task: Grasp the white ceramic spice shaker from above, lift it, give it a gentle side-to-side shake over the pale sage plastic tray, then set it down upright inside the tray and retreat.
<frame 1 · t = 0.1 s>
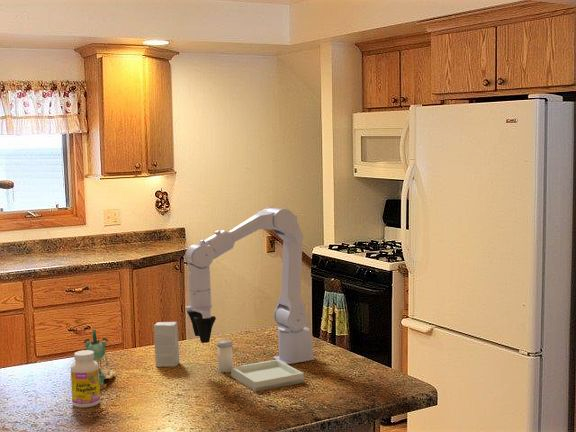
hand: (202, 339, 212), 10 cm above the counter, fingers open, 7 cm apart
frog figurine: (96, 381, 212), on the counter
tray: (266, 379, 208), on the counter
supplement bottle: (86, 404, 193), on the counter
spice shaker: (225, 370, 217), on the counter
skincare box: (167, 365, 224), on the counter
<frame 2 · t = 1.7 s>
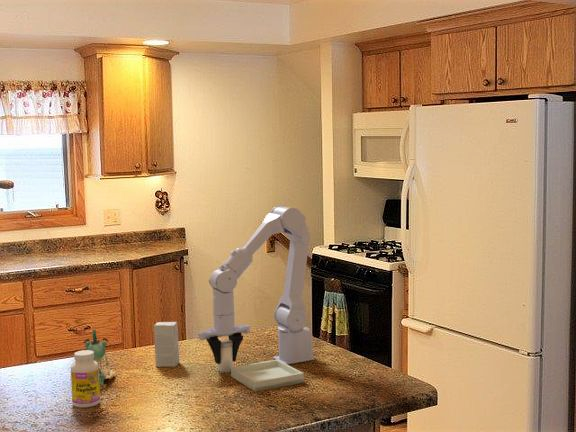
hand: (225, 361, 217), 2 cm above the counter, fingers closed on spice shaker, 4 cm apart
spice shaker: (225, 370, 217), on the counter, touching gripper
everything else where it was.
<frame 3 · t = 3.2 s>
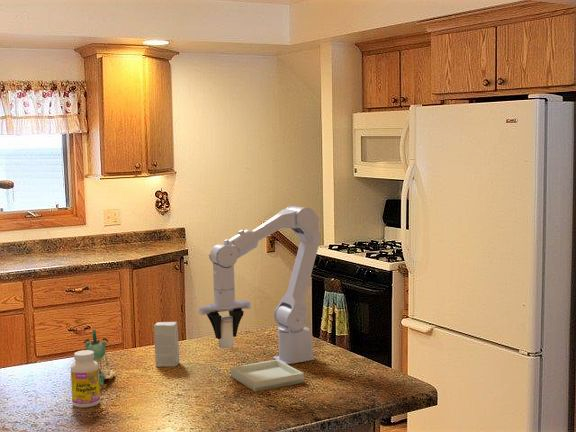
hand: (226, 337, 216), 9 cm above the counter, fingers closed on spice shaker, 4 cm apart
spice shaker: (226, 345, 216), point 7 cm above the counter, touching gripper
everything else where it was.
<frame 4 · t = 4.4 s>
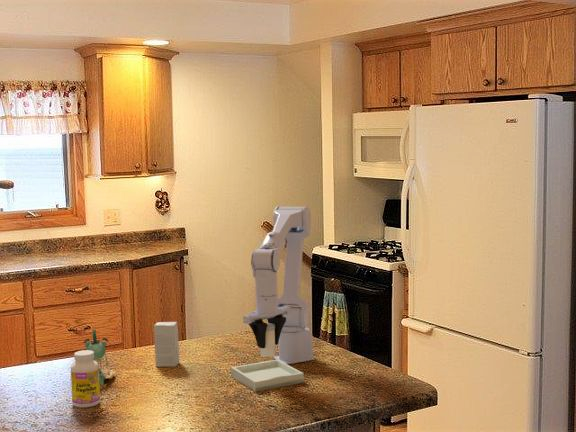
hand: (268, 345, 206), 9 cm above the counter, fingers closed on spice shaker, 4 cm apart
spice shaker: (267, 354, 206), point 7 cm above the counter, touching gripper
everything else where it was.
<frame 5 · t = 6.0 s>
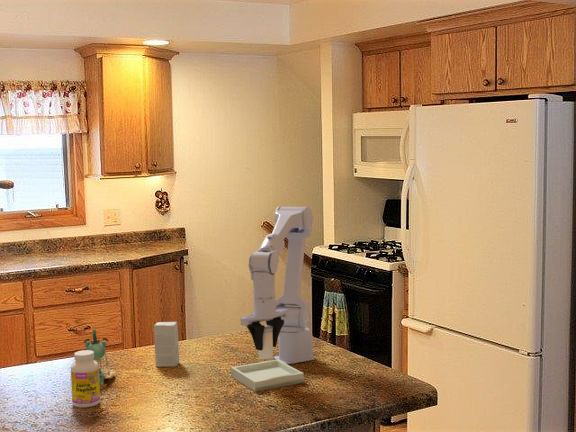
hand: (265, 347, 207), 9 cm above the counter, fingers closed on spice shaker, 4 cm apart
spice shaker: (265, 356, 208), point 6 cm above the counter, touching gripper
everything else where it was.
when the fingers open (4 cm above the counter, at t = 7.2 s): spice shaker stays where it is, resting on tray.
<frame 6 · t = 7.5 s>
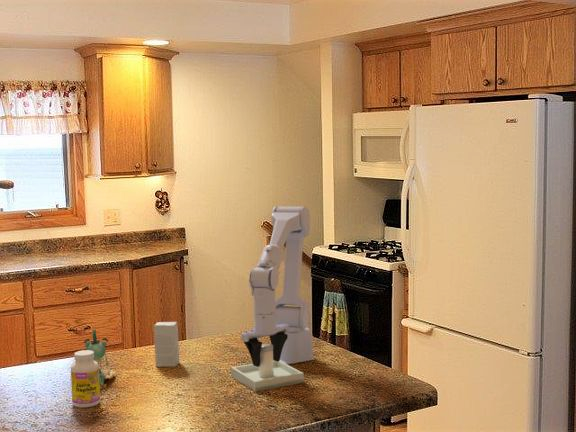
hand: (266, 363, 208), 4 cm above the counter, fingers open, 6 cm apart
spice shaker: (266, 375, 208), point 1 cm above the counter, touching tray
everything else where it was.
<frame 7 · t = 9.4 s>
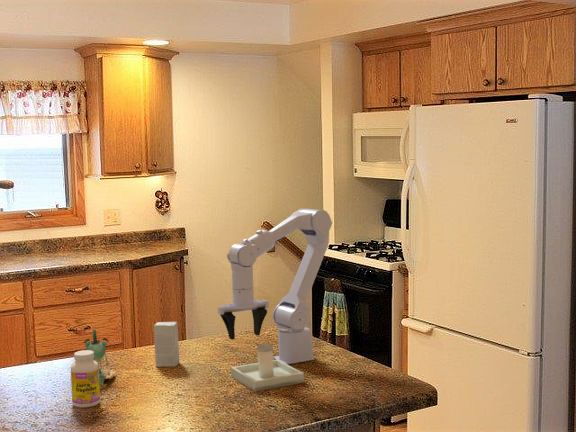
hand: (244, 336, 216), 9 cm above the counter, fingers open, 7 cm apart
nothing on the counter moved.
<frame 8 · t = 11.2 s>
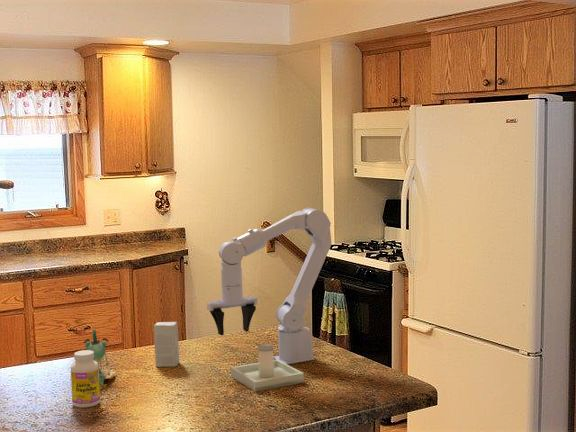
hand: (233, 332, 221), 9 cm above the counter, fingers open, 7 cm apart
nothing on the counter moved.
at the end: spice shaker inside the target area on the tray (0.2 cm from its centre), point 1.1 cm above the tray's base; spice shaker tilted 2°; the gripper is holding nothing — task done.
